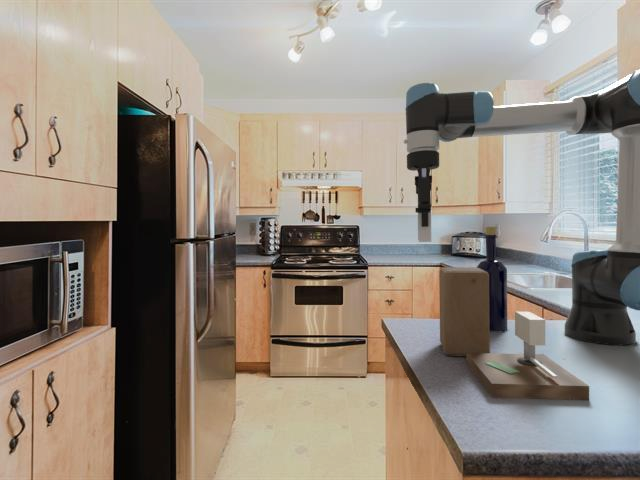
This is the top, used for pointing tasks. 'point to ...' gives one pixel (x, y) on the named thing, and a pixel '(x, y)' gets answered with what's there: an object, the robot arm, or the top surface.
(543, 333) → the cream block and rod
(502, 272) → the bottle
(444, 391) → the top surface
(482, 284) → the wooden block
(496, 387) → the board
